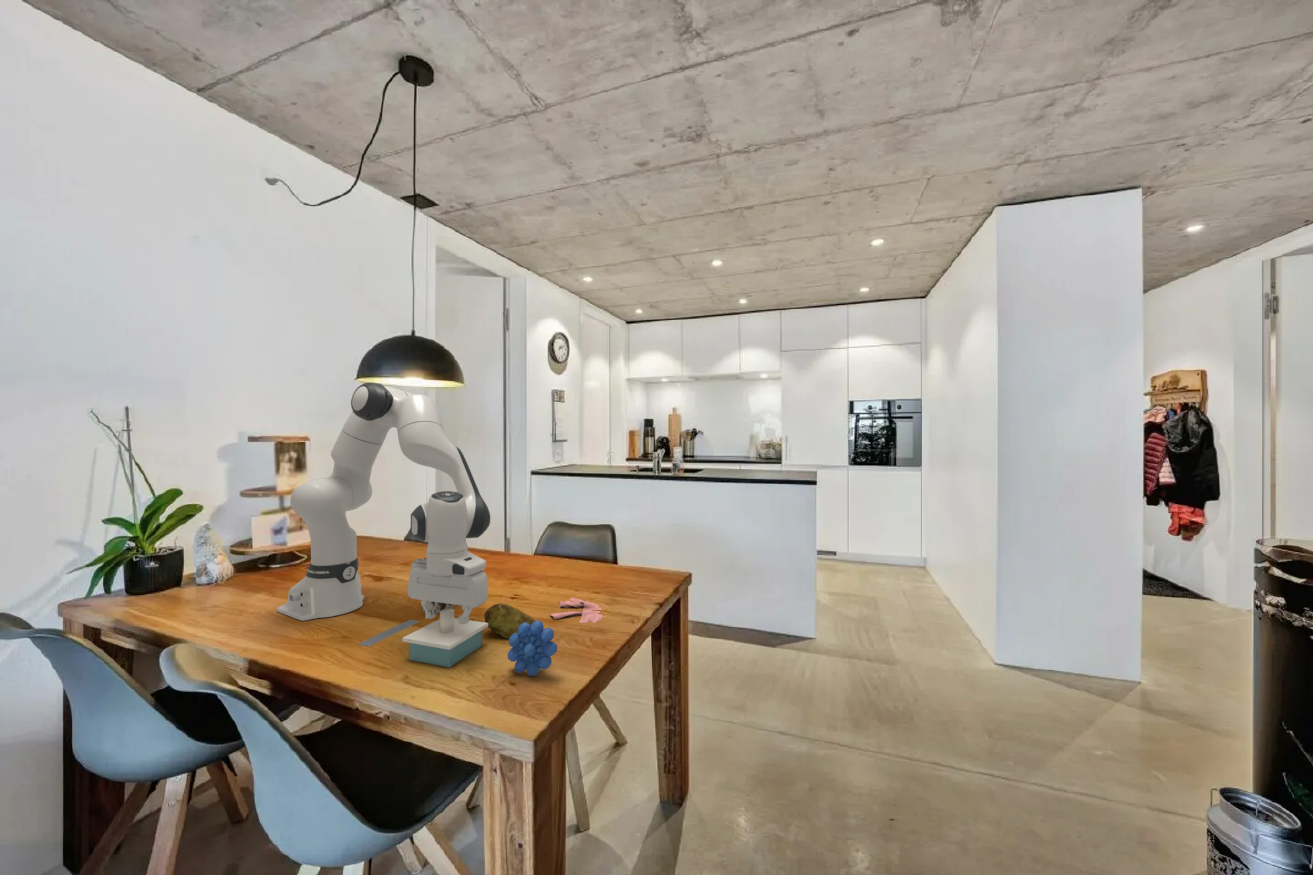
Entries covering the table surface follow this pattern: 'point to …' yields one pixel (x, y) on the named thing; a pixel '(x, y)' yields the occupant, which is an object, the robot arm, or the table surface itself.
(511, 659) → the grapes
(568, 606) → the cloth
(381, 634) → the mat
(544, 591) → the table surface
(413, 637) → the lid
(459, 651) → the dish
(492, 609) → the potato
